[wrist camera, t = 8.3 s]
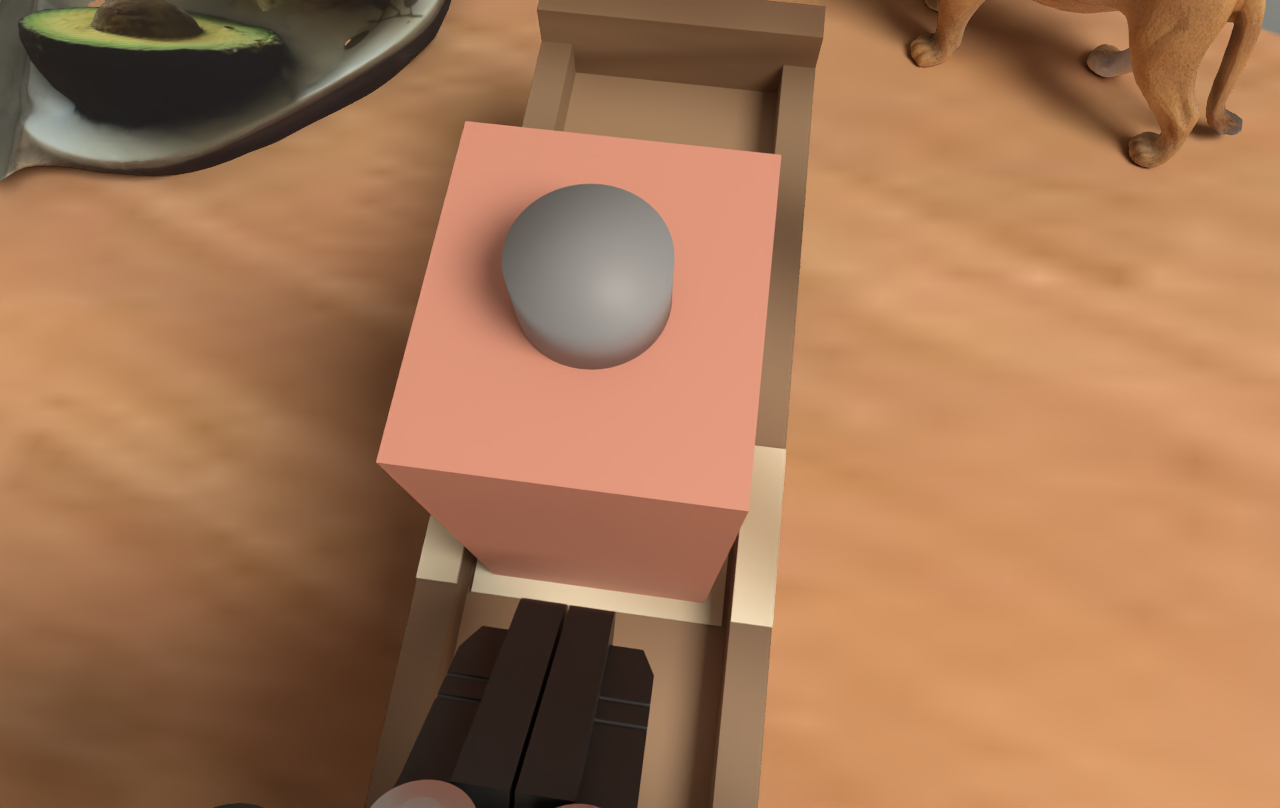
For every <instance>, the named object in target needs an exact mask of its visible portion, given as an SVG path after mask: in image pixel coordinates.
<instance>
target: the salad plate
mask: <svg viewBox="0 0 1280 808" xmlns="http://www.w3.org/2000/svg"><path fill="white" fill-rule="evenodd" d="M93 1H95V0H0V181H1V180H2V179H4V178H6V177H7V176H9V175H10V174H12V173H14V172H16V171H18V170H20V169H22V168H26V167H31V166H67V167H73V168H78V169H84V170H90V171H97V172H109V173H120V174H131V175H145V176H165V175H178V174H184V173H190V172H194V171H199V170H202V169H206V168H210V167H213V166H216V165H219V164H222V163H225V162H227V161H230V160H233V159H235V158H237V157H240V156H242V155H244V154H247V153H249V152H252V151H254V150H257V149H260V148H263V147H265V146H268V145H270V144H273V143H275V142H277V141H279V140H281V139H283V138H285V137H287V136H289V135H291V134H293V133H294V132H296V131H298V130H300V129H302V128H304V127H306V126H308V125H310V124H312V123H314V122H316V121H318V120H320V119H322V118H324V117H326V116H328V115H330V114H332V113H334V112H336V111H338V110H340V109H342V108H344V107H346V106H348V105H350V104H352V103H353V102H355V101H357V100H359V99H361V98H363V97H365V96H366V95H368V94H370V93H372V92H373V91H375V90H376V89H378V88H379V87H381V86H382V85H383V84H385V83H386V82H388V81H389V80H390V79H391V78H393V77H394V76H395V75H396V74H397V73H398V72H399V71H401V70H402V69H403V68H404V67H405V66H406V65H407V64H408V63H409V62H410V61H411V60H412V59H413V58H414V57H416V56H417V55H418V54H419V53H420V52H421V51H422V50H423V49H424V48H425V47H426V46H427V45H428V44H429V43H430V42H431V41H432V40H433V39H434V38H435V36H436V34H437V32H438V30H439V28H440V26H441V24H442V22H443V20H444V18H445V15H446V13H447V11H448V9H449V5H450V2H451V0H105V1H106V2H105V3H104V4H103V5H102V6H101V7H87V5H88V4H89V3H91V2H93ZM349 39H351V41H350V42H349V43H348V44H347V45H346V46H345V42H347V41H348V40H349Z"/></svg>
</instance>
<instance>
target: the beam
mask: <svg viewBox="0 0 1280 808" xmlns="http://www.w3.org/2000/svg"><path fill="white" fill-rule="evenodd" d="M537 13H538V19H539V26H540V32H541V39H542V42H541V46H540V51H539V55H538V59H537V64H536V68H535V72H534V77H533V81H532V85H531V90H530V94H529V98H528V103H527V107H526V111H525V116H524V120H523V124H522V127H525V128H535V129H544V130H553V131H563V132H572V133H581V134H591V135H600V136H609V137H619V138H628V139H638V140H647V141H656V142H666V143H675V144H684V145H694V146H703V147H712V148H722V149H731V150H740V151H750V152H759V153H769V154H778V155H781V165H780V176H779V187H778V198H777V209H776V220H775V231H774V242H773V253H772V264H771V274H770V285H769V296H768V307H767V318H766V329H765V340H764V351H763V362H762V373H761V383H760V394H759V405H758V416H757V427H756V438H755V449H754V460H753V471H752V482H751V492H750V503H749V512H748V514H747V516H746V518H745V520H744V522H743V524H742V526H741V528H740V530H739V532H738V535H737V537H736V539H735V541H734V543H733V545H732V547H731V549H730V551H729V553H728V555H727V557H726V559H725V561H724V563H723V565H722V567H721V569H720V571H719V574H718V576H717V578H716V580H715V582H714V584H713V586H712V588H711V590H710V592H709V594H708V596H707V598H706V600H705V602H704V603H697V602H690V601H683V600H676V599H668V598H661V597H654V596H647V595H640V594H632V593H625V592H618V591H611V590H603V589H596V588H589V587H582V586H574V585H567V584H560V583H553V582H545V581H538V580H531V579H524V578H517V577H509V576H502V575H495V574H493V573H492V572H491V571H490V570H489V569H488V568H487V567H486V566H485V565H484V564H482V563H481V562H480V561H479V560H478V559H477V558H476V557H475V556H474V555H473V554H472V553H471V552H470V551H469V550H468V549H467V548H466V547H465V546H464V545H462V544H461V543H460V542H459V541H458V540H457V539H456V538H455V537H454V536H453V535H452V534H451V533H450V532H449V531H448V530H447V529H446V528H445V527H444V526H442V525H441V524H440V523H439V522H438V521H437V520H436V519H435V518H434V517H433V516H432V515H431V514H430V518H429V523H428V527H427V531H426V536H425V540H424V544H423V549H422V553H421V557H420V561H419V566H418V570H417V574H416V578H417V582H416V587H415V591H414V595H413V600H412V604H411V608H410V612H409V617H408V621H407V625H406V630H405V634H404V638H403V643H402V647H401V651H400V656H399V660H398V664H397V669H396V673H395V677H394V682H393V686H392V690H391V695H390V699H389V703H388V708H387V712H386V716H385V720H384V725H383V729H382V733H381V738H380V742H379V746H378V751H377V755H376V759H375V764H374V768H373V772H372V777H371V781H370V785H369V790H368V794H367V798H366V803H365V807H364V808H370V807H371V806H372V805H373V804H374V803H375V802H376V801H377V800H378V799H379V798H380V797H381V796H382V795H384V794H385V793H386V792H388V791H390V790H391V789H392V788H393V787H394V785H395V784H396V782H397V780H398V778H399V776H400V774H401V772H402V770H403V768H404V765H405V763H406V761H407V759H408V757H409V755H410V752H411V750H412V748H413V746H414V744H415V741H416V739H417V737H418V735H419V733H420V731H421V728H422V726H423V724H424V722H425V720H426V717H427V715H428V713H429V711H430V709H431V706H432V704H433V702H434V700H435V698H437V695H438V691H439V689H440V687H441V685H442V682H443V680H444V678H445V677H446V676H447V671H448V669H449V667H450V665H451V663H452V661H453V658H454V656H455V654H456V652H457V650H458V647H459V646H460V645H461V644H462V643H463V642H464V641H465V640H467V639H468V638H469V637H470V636H471V635H472V634H473V633H475V632H476V631H477V630H478V629H479V628H480V627H481V626H489V627H495V628H502V629H509V627H510V624H511V622H512V619H513V617H514V614H515V611H516V609H517V606H518V604H519V601H520V600H521V598H528V599H535V600H542V601H549V602H555V603H562V604H567V605H568V609H569V607H570V605H574V606H581V607H588V608H595V609H601V610H608V611H615V612H616V617H615V627H614V637H613V645H614V646H621V647H627V648H634V649H641V650H644V652H645V655H646V657H647V660H648V662H649V664H650V667H651V669H652V672H653V674H654V680H653V688H652V696H651V704H650V712H649V720H648V728H647V736H646V743H645V751H644V759H643V767H642V775H641V783H640V791H639V799H638V807H637V808H758V799H759V786H760V774H761V761H762V748H763V735H764V722H765V709H766V696H767V683H768V670H769V658H770V645H771V632H772V627H773V617H774V604H775V591H776V578H777V565H778V552H779V539H780V526H781V513H782V500H783V487H784V474H785V461H786V438H787V425H788V412H789V400H790V387H791V374H792V361H793V348H794V335H795V322H796V309H797V296H798V283H799V271H800V258H801V245H802V232H803V219H804V206H805V193H806V180H807V167H808V155H809V142H810V129H811V116H812V103H813V90H814V77H815V67H816V63H817V59H818V55H819V52H820V48H821V44H822V40H823V32H824V19H825V6H818V5H807V4H797V3H786V2H776V1H766V0H539V3H538V7H537Z"/></svg>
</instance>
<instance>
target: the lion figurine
mask: <svg viewBox="0 0 1280 808" xmlns="http://www.w3.org/2000/svg"><path fill="white" fill-rule="evenodd" d="M985 1H986V0H925V3H926V5H927V6H928V7H929V8H931V9H933V10H935V11H938V24H937V29H936V32H935V34H922V35H920V36H919V37H918V38H917V39H915V40H913V41H912V43H911V45H910V50H911V56H912V58H913V59H914V60H915V62H916V63H917V65H918V66H919V67H930V66H934V65H937V64H940V63H943V62H944V61H945V60H947V59H948V58H949V56H950V55H951V54H952V52H953V51H954V50H955V49H957V48H958V47H959V45H960V44H961V41H962V37H963V33H964V30H965V27H966V25H967V23H968V21H969V20H970V18H971V16H972V15H973V14H974V13H975V11H976V10H977V9H978V8H979V6H980V5H981V4H982V3H983V2H985ZM1033 1H1035V2H1038V3H1040V4H1042V5H1045V6H1049V7H1053V8H1056V9H1059V10H1063V11H1068V12H1077V13H1098V12H1110V11H1120V12H1122V13H1123V14H1124V15H1125V16H1126V18H1127V22H1128V28H1129V48H1128V49H1126V50H1124V51H1120V50H1119V49H1118V48H1116V47H1115V46H1112V45H1107V44H1104V45H1100V46H1098V47H1097V48H1096V49H1094V50H1093V51H1092V52H1091V53H1090V55H1089V57H1088V59H1087V65H1088V66H1089V68H1090V69H1091V70H1092V71H1094V72H1095V73H1096V74H1098V75H1100V76H1103V77H1114V76H1118V75H1121V74H1125V73H1129V72H1133V73H1134V77H1135V80H1136V83H1137V85H1138V87H1139V88H1140V90H1141V92H1142V94H1143V95H1144V97H1145V99H1146V100H1147V102H1148V104H1149V106H1150V108H1151V110H1152V111H1153V112H1154V114H1155V116H1156V118H1157V120H1158V122H1159V125H1160V128H1161V133H1160V134H1157V133H1153V132H1143V133H1141V134H1139V135H1137V136H1134V137H1133V138H1131V140H1130V141H1129V156H1130V157H1131V159H1132V161H1134V162H1135V163H1136V164H1138V165H1140V166H1142V167H1148V168H1153V167H1157V166H1159V165H1161V164H1163V163H1165V162H1167V161H1168V160H1169V159H1170V158H1171V157H1172V156H1173V155H1174V154H1175V153H1176V152H1177V151H1178V150H1179V149H1180V147H1181V146H1182V144H1183V143H1184V141H1185V140H1186V138H1187V137H1188V135H1189V134H1190V132H1191V131H1192V129H1193V127H1194V126H1195V124H1196V123H1197V121H1198V119H1199V117H1200V114H1201V111H1200V108H1199V105H1198V103H1197V101H1196V98H1195V94H1194V87H1195V80H1196V74H1197V69H1198V66H1199V64H1200V62H1201V60H1202V58H1203V56H1204V54H1205V53H1206V51H1207V49H1208V48H1209V46H1210V45H1211V43H1212V42H1213V40H1214V39H1215V37H1216V36H1217V35H1218V33H1219V32H1220V30H1221V29H1222V28H1223V26H1224V25H1225V24H1226V22H1233V23H1234V27H1233V30H1232V34H1231V37H1230V40H1229V43H1228V46H1227V48H1226V51H1225V54H1224V57H1223V60H1222V63H1221V65H1220V68H1219V71H1218V73H1217V75H1216V78H1215V80H1214V82H1213V86H1212V89H1211V91H1210V94H1209V97H1208V101H1207V106H1206V118H1207V122H1208V124H1209V126H1210V127H1212V128H1213V129H1214V130H1215V131H1216V132H1217V133H1218V134H1219V135H1223V134H1229V135H1234V134H1237V133H1239V132H1240V131H1241V129H1242V119H1241V118H1240V117H1238V116H1237V115H1236V114H1234V113H1232V112H1230V111H1228V110H1226V109H1225V102H1226V100H1227V98H1228V96H1229V94H1230V93H1231V91H1232V89H1233V87H1234V85H1235V84H1236V82H1237V80H1238V78H1239V76H1240V74H1241V72H1242V71H1243V69H1244V67H1245V65H1246V63H1247V61H1248V59H1249V57H1250V54H1251V52H1252V50H1253V48H1254V45H1255V43H1256V41H1257V38H1258V36H1259V33H1260V30H1261V26H1262V21H1263V16H1264V11H1265V5H1266V0H1033Z"/></svg>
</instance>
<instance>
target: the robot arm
mask: <svg viewBox="0 0 1280 808" xmlns="http://www.w3.org/2000/svg"><path fill="white" fill-rule="evenodd" d="M615 617H616V612H615V611H608V610H601V609H595V608H588V607H581V606H574V605H570V607H569V609H568V605H567V604H562V603H555V602H549V601H542V600H535V599H528V598H521V600H520V601H519V604H518V606H517V609H516V611H515V614H514V617H513V619H512V622H511V624H510V627H509V629H502V628H495V627H489V626H481V627H480V628H479V629H478V630H477V631H476V632H475V633H473V634H472V635H471V636H470V637H469V638H468V639H467V640H465V641H464V642H463V643H462V644H461V645H460V646H459V647H458V650H457V652H456V654H455V656H454V658H453V661H452V663H451V665H450V667H449V669H448V671H447V676H446V677H445V678H444V680H443V682H442V685H441V687H440V689H439V691H438V695H437V698H435V700H434V702H433V704H432V706H431V709H430V711H429V713H428V715H427V717H426V720H425V722H424V724H423V726H422V728H421V731H420V733H419V735H418V737H417V739H416V741H415V744H414V746H413V748H412V750H411V752H410V755H409V757H408V759H407V761H406V763H405V765H404V768H403V770H402V772H401V774H400V776H399V778H398V780H397V782H396V784H395V785H394V787H393V788H392V789H391V790H390V791H388V792H386V793H385V794H384V795H382V796H381V797H380V798H379V799H378V800H377V801H376V802H375V803H374V804H373V805H372V806H371V807H370V808H637V807H638V799H639V791H640V783H641V775H642V767H643V759H644V751H645V743H646V736H647V728H648V720H649V712H650V704H651V696H652V688H653V680H654V674H653V672H652V669H651V667H650V664H649V662H648V660H647V657H646V655H645V652H644V650H641V649H634V648H627V647H621V646H614V645H613V637H614V627H615ZM215 808H262V807H260V806H257V805H252V804H243V803H237V804H227V805H222V806H218V807H215Z"/></svg>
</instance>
